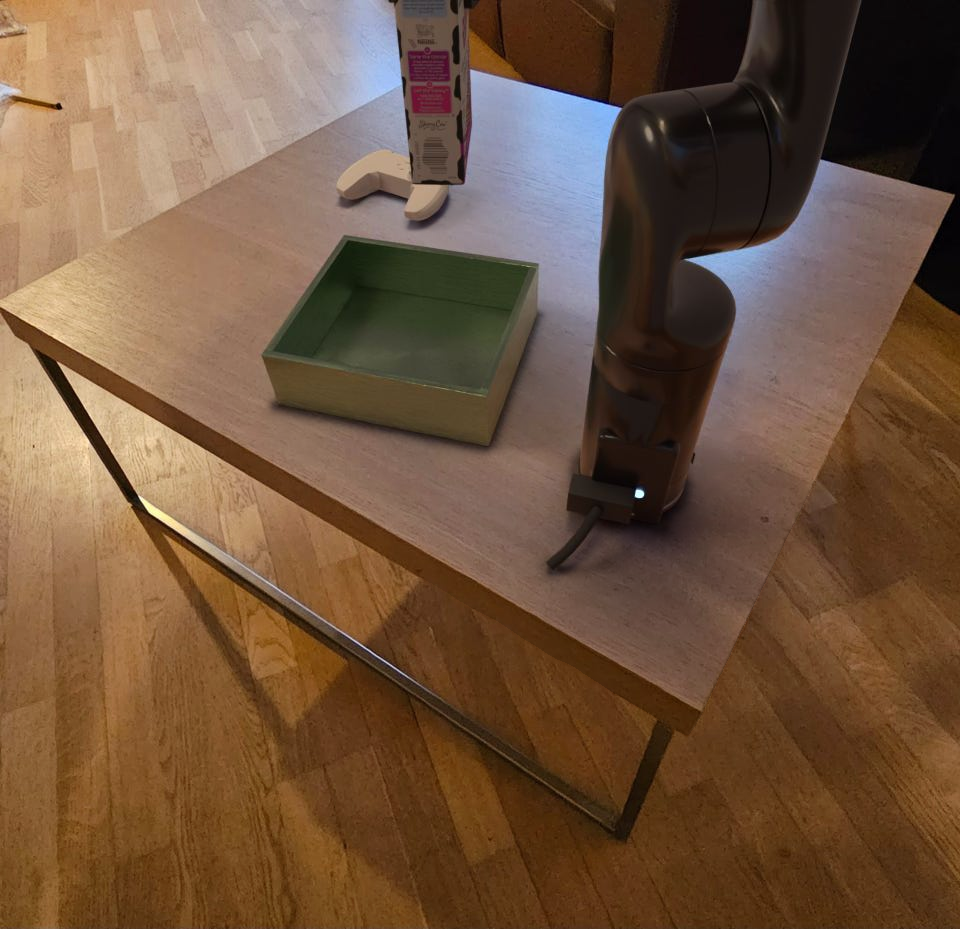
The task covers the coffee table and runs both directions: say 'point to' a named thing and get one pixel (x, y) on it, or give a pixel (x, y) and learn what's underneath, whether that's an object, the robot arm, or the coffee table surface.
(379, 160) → the game controller
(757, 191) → the robot arm
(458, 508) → the coffee table surface
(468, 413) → the shallow wooden crate
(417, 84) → the candy bar box
